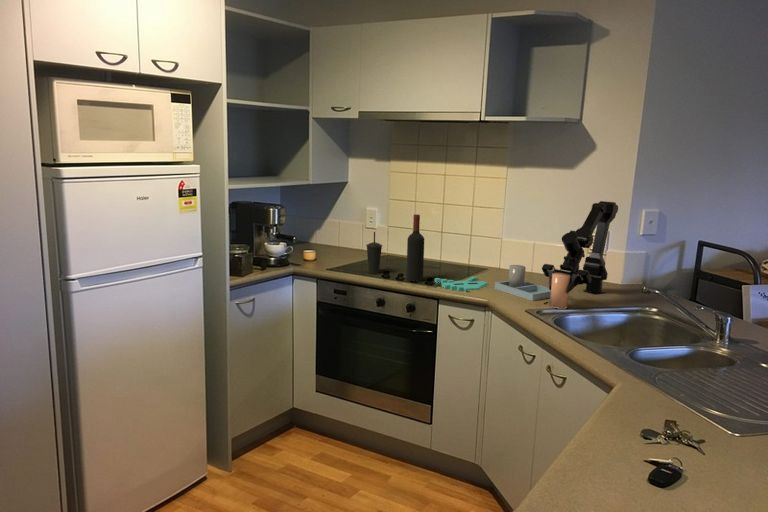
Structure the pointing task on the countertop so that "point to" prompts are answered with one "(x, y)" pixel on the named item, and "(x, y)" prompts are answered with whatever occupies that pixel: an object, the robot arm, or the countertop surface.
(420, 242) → the wine bottle
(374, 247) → the drinking cup
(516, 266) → the grey cylinder
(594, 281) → the robot arm
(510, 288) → the cup rack
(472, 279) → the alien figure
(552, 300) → the peach round cylinder
